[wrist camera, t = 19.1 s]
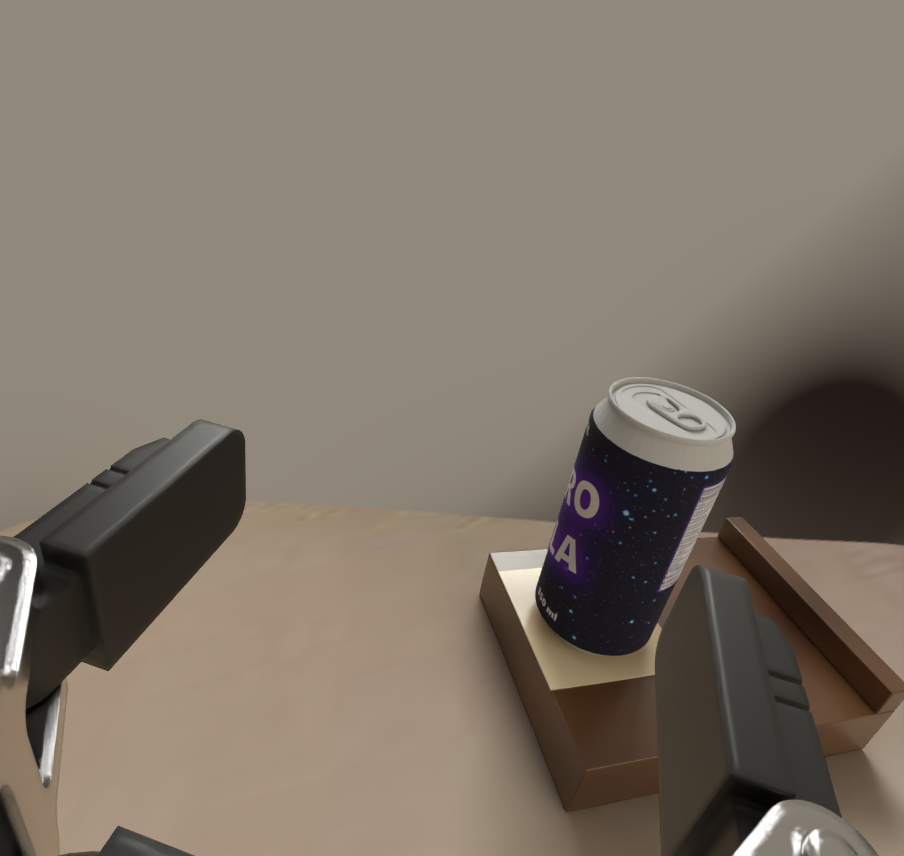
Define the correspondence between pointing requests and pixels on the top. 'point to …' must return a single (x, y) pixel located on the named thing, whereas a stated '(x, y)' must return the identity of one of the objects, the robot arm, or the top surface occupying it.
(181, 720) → the top surface
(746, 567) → the wooden serving tray
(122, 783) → the top surface
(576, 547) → the beverage can
